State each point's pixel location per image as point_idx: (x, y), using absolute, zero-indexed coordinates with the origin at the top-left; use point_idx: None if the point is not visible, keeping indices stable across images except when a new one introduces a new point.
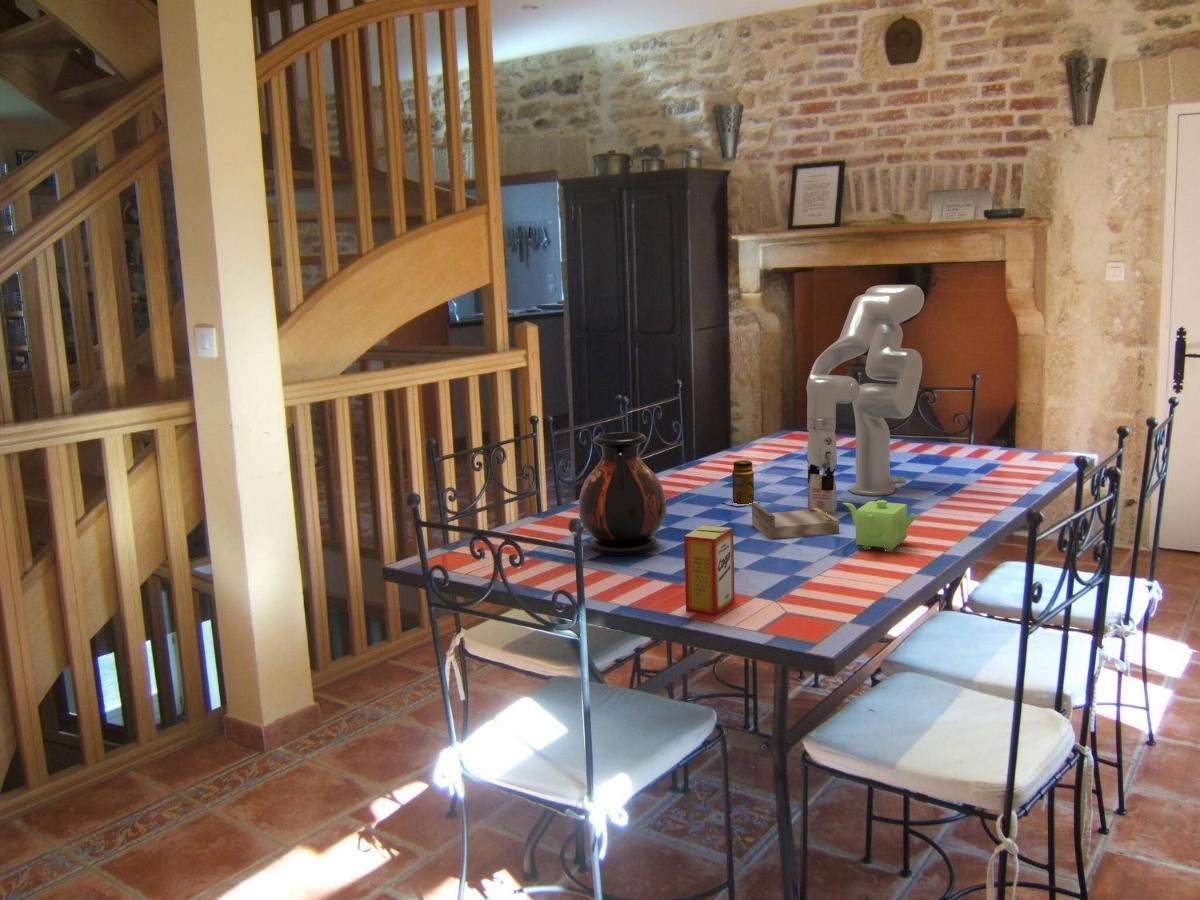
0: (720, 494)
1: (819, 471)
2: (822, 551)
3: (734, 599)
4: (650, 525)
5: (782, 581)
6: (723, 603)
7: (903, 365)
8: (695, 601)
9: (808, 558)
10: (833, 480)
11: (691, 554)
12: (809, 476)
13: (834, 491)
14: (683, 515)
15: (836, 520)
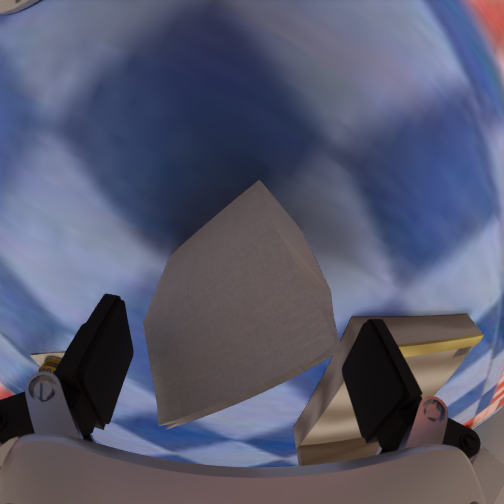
0: (6, 362)
1: (81, 359)
2: (482, 363)
3: (467, 425)
4: None
5: (480, 402)
6: None
7: None
8: None
9: (477, 381)
10: (405, 364)
11: None
12: (119, 388)
13: (298, 250)
14: (161, 454)
15: (479, 340)
